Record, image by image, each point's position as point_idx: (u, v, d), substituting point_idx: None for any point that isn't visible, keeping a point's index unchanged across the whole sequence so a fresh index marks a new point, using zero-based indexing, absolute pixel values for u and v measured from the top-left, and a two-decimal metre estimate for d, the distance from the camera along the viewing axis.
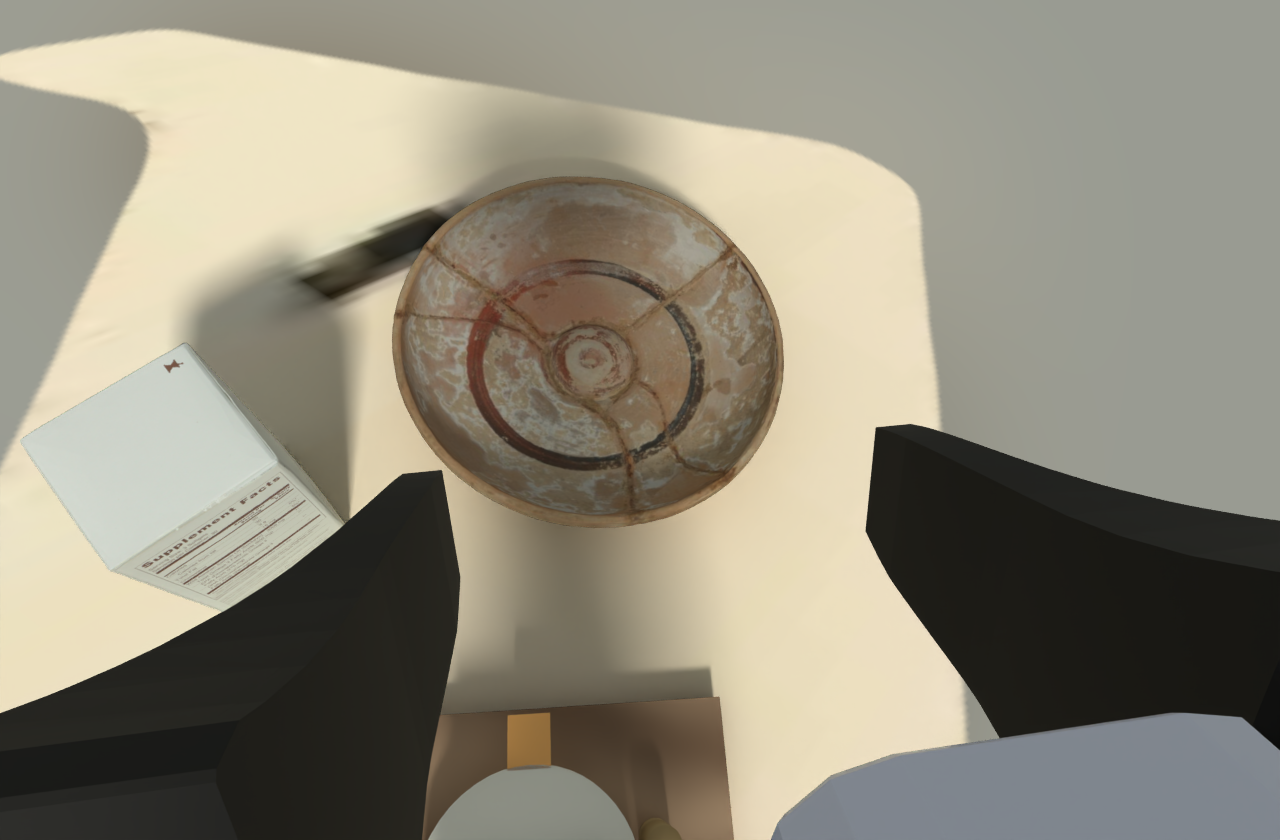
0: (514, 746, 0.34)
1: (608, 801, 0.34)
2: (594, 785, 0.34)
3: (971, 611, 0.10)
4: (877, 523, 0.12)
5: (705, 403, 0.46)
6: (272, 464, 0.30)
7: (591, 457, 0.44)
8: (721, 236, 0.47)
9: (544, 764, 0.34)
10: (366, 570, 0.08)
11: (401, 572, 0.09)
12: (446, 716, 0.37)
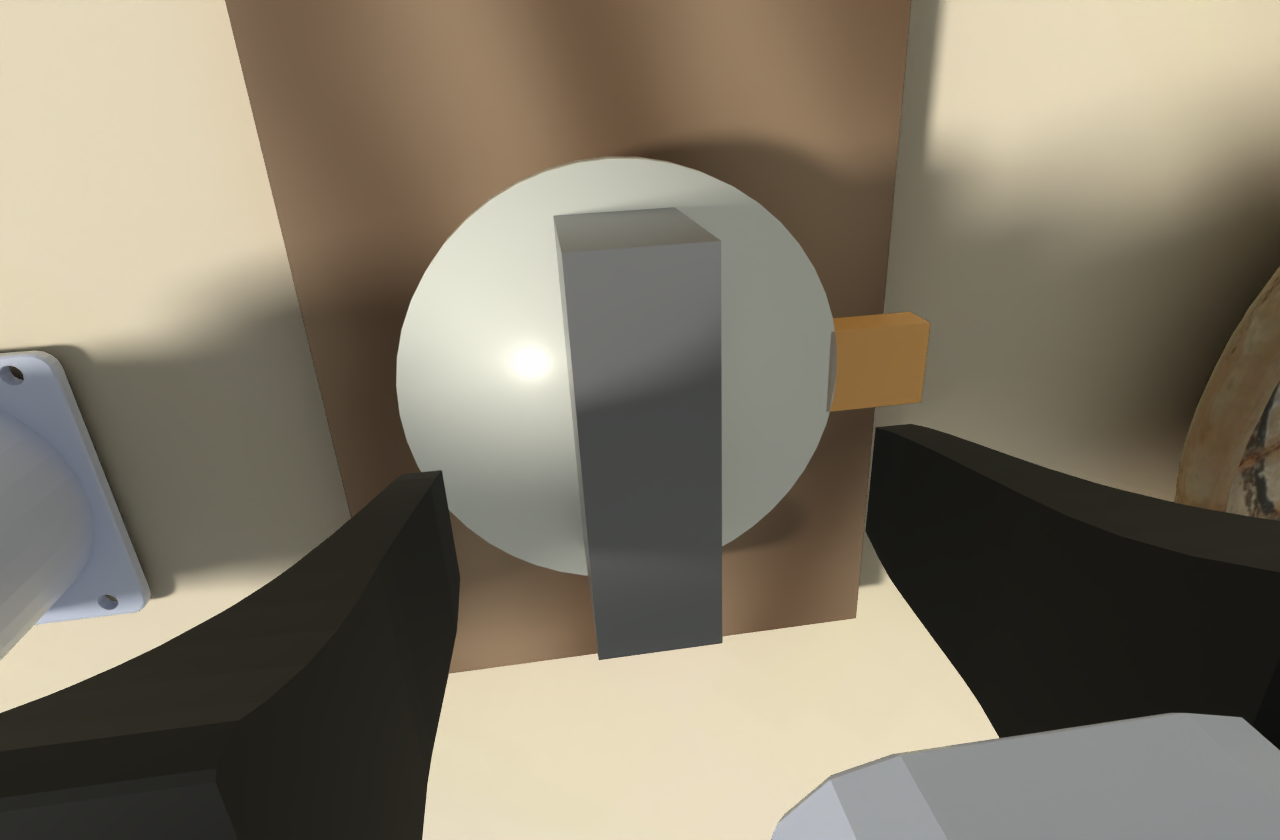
0: (873, 340, 0.17)
1: (759, 513, 0.18)
2: (788, 489, 0.18)
3: (971, 611, 0.10)
4: (877, 523, 0.12)
5: None
6: None
7: (1273, 395, 0.24)
8: None
9: (833, 400, 0.17)
10: (366, 570, 0.08)
11: (401, 572, 0.09)
12: (893, 167, 0.18)
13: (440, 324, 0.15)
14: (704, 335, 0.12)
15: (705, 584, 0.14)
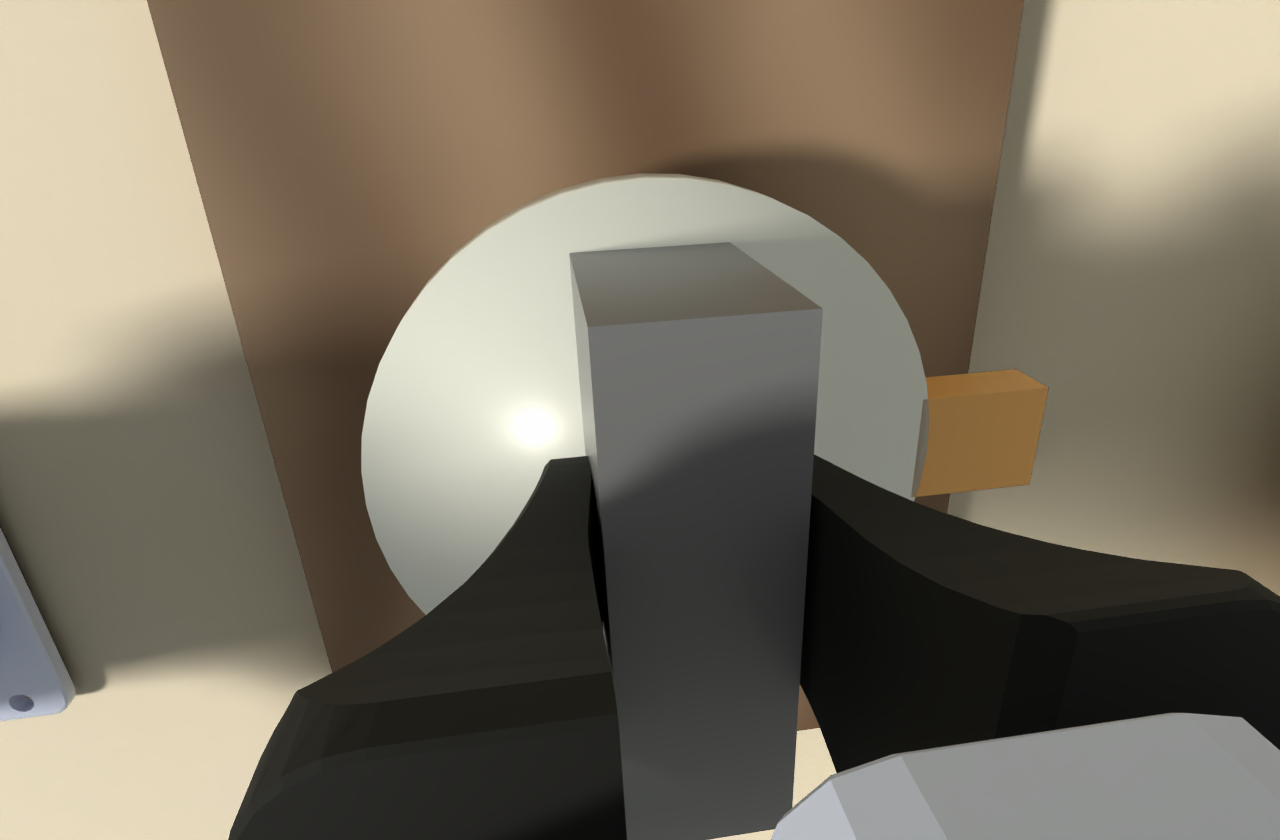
0: (975, 410, 0.13)
1: None
2: None
3: (810, 632, 0.10)
4: None
5: None
6: None
7: None
8: None
9: (921, 482, 0.14)
10: (580, 546, 0.08)
11: (591, 551, 0.09)
12: (992, 186, 0.15)
13: (418, 393, 0.12)
14: (790, 440, 0.08)
15: (772, 758, 0.10)
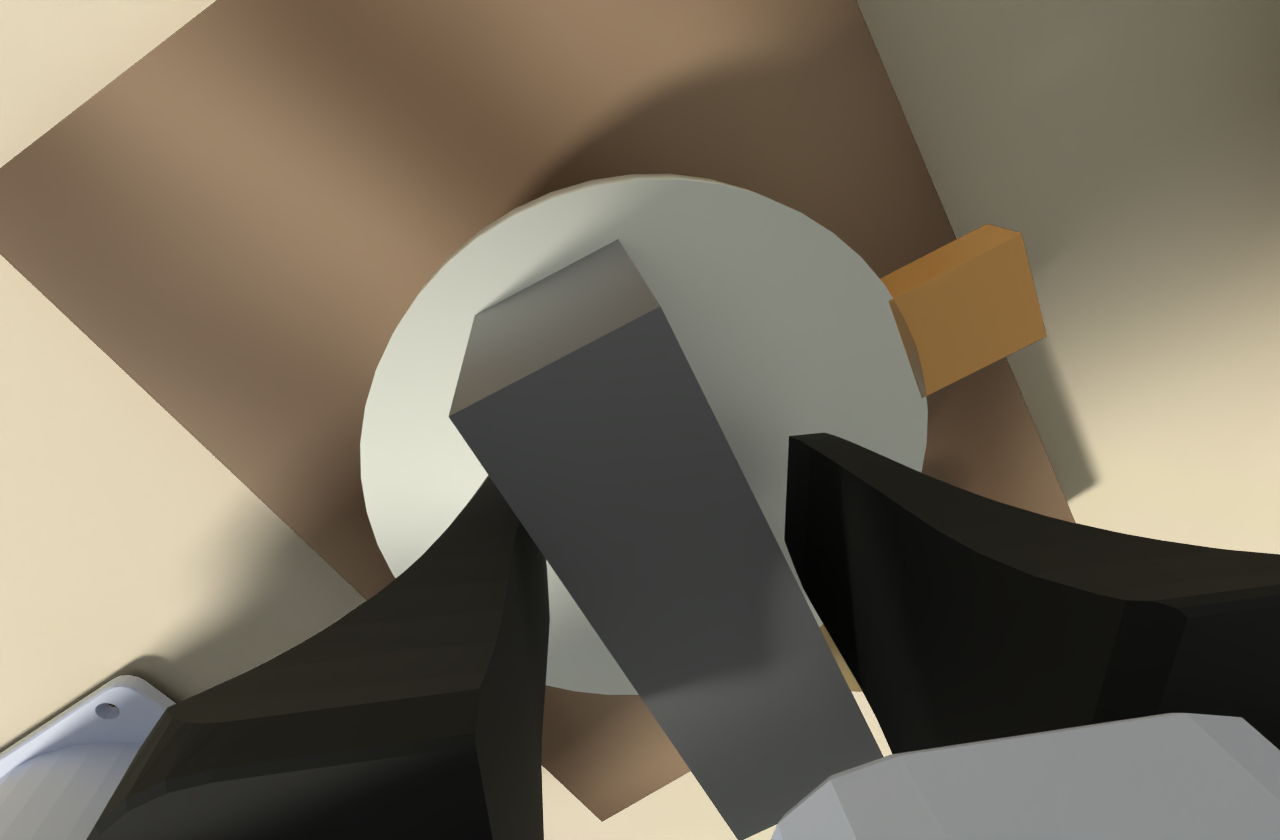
0: (950, 288, 0.12)
1: None
2: None
3: (867, 624, 0.10)
4: (792, 533, 0.12)
5: None
6: None
7: None
8: None
9: (925, 380, 0.13)
10: (502, 555, 0.08)
11: (522, 559, 0.09)
12: (856, 13, 0.13)
13: (406, 489, 0.12)
14: (695, 435, 0.08)
15: (837, 718, 0.10)
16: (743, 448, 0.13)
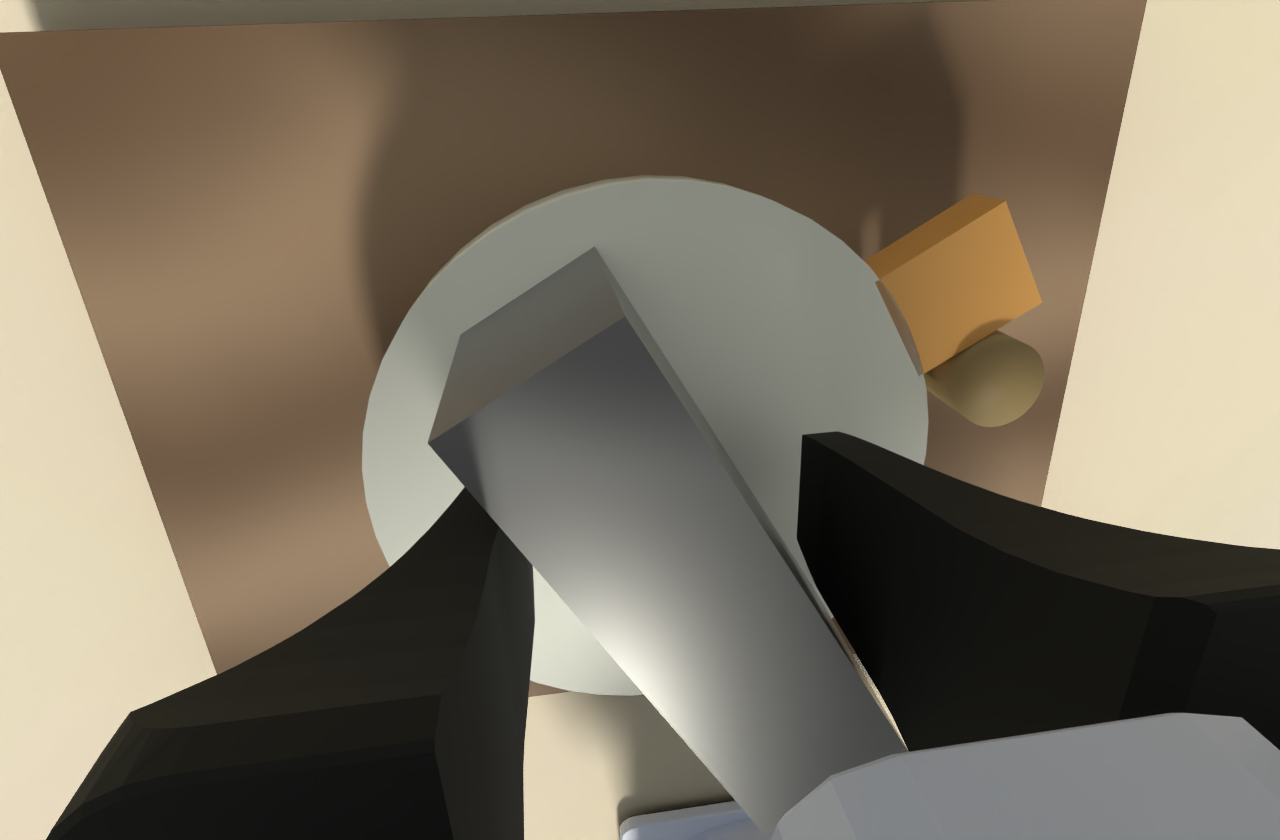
0: (937, 263, 0.12)
1: None
2: None
3: (883, 622, 0.10)
4: (805, 531, 0.12)
5: None
6: None
7: None
8: None
9: (921, 358, 0.13)
10: (481, 557, 0.08)
11: (503, 560, 0.09)
12: (368, 26, 0.12)
13: (412, 510, 0.12)
14: (675, 440, 0.08)
15: (851, 707, 0.10)
16: (741, 442, 0.13)
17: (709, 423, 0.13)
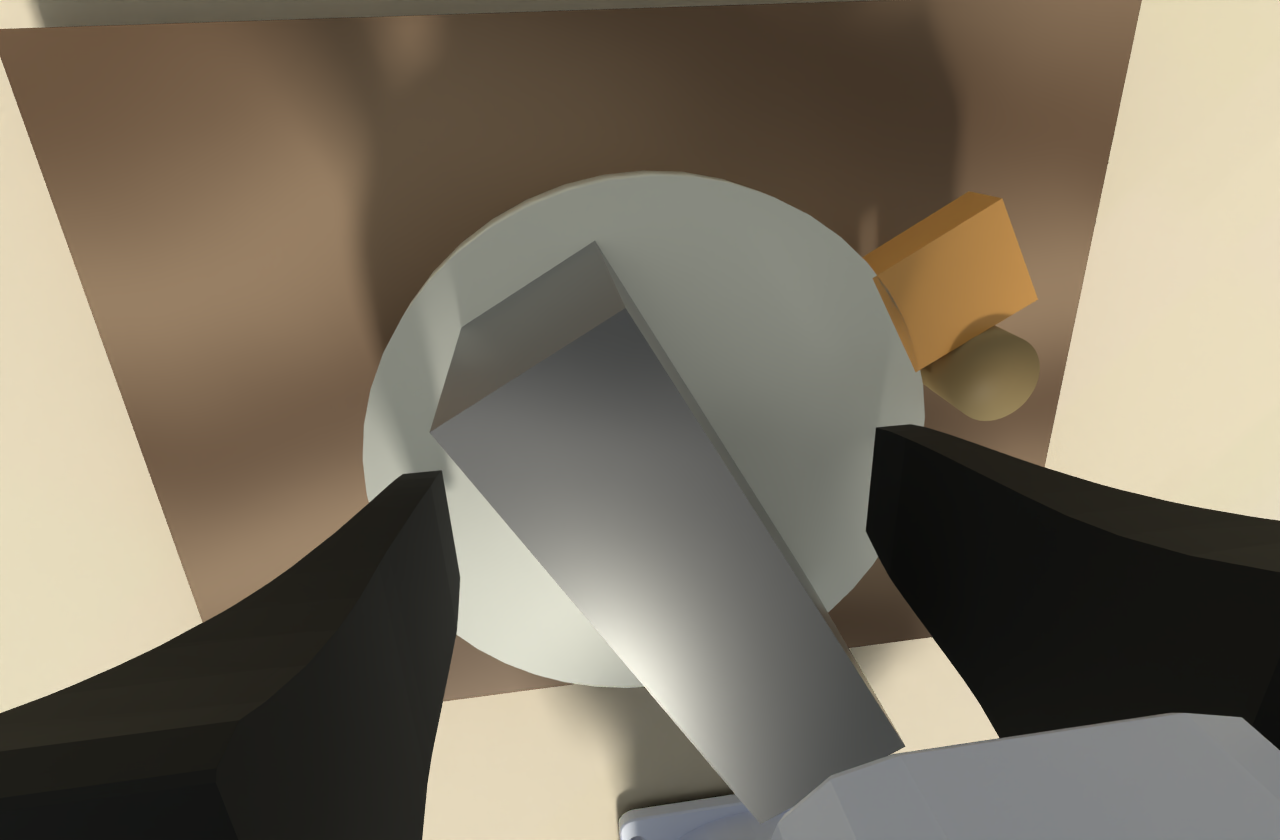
0: (934, 259, 0.12)
1: None
2: None
3: (971, 611, 0.10)
4: (877, 523, 0.12)
5: None
6: None
7: None
8: None
9: (918, 354, 0.13)
10: (366, 570, 0.08)
11: (401, 572, 0.09)
12: (368, 23, 0.12)
13: None
14: (674, 431, 0.08)
15: (846, 697, 0.10)
16: (739, 436, 0.13)
17: (707, 417, 0.13)
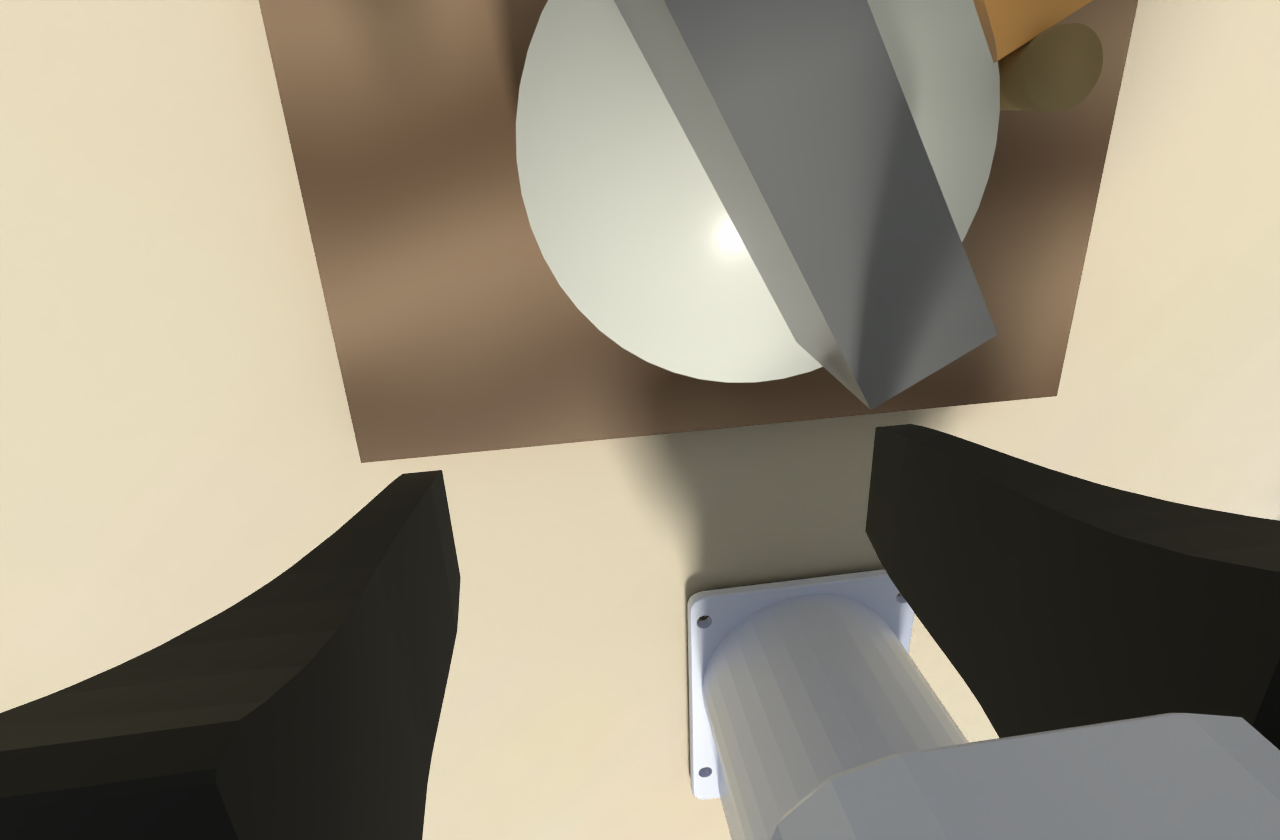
0: None
1: (966, 218, 0.16)
2: (987, 175, 0.16)
3: (971, 611, 0.10)
4: (877, 523, 0.12)
5: None
6: None
7: None
8: None
9: (996, 44, 0.15)
10: (366, 570, 0.08)
11: (401, 572, 0.09)
12: None
13: (554, 170, 0.14)
14: None
15: (951, 273, 0.12)
16: None
17: None
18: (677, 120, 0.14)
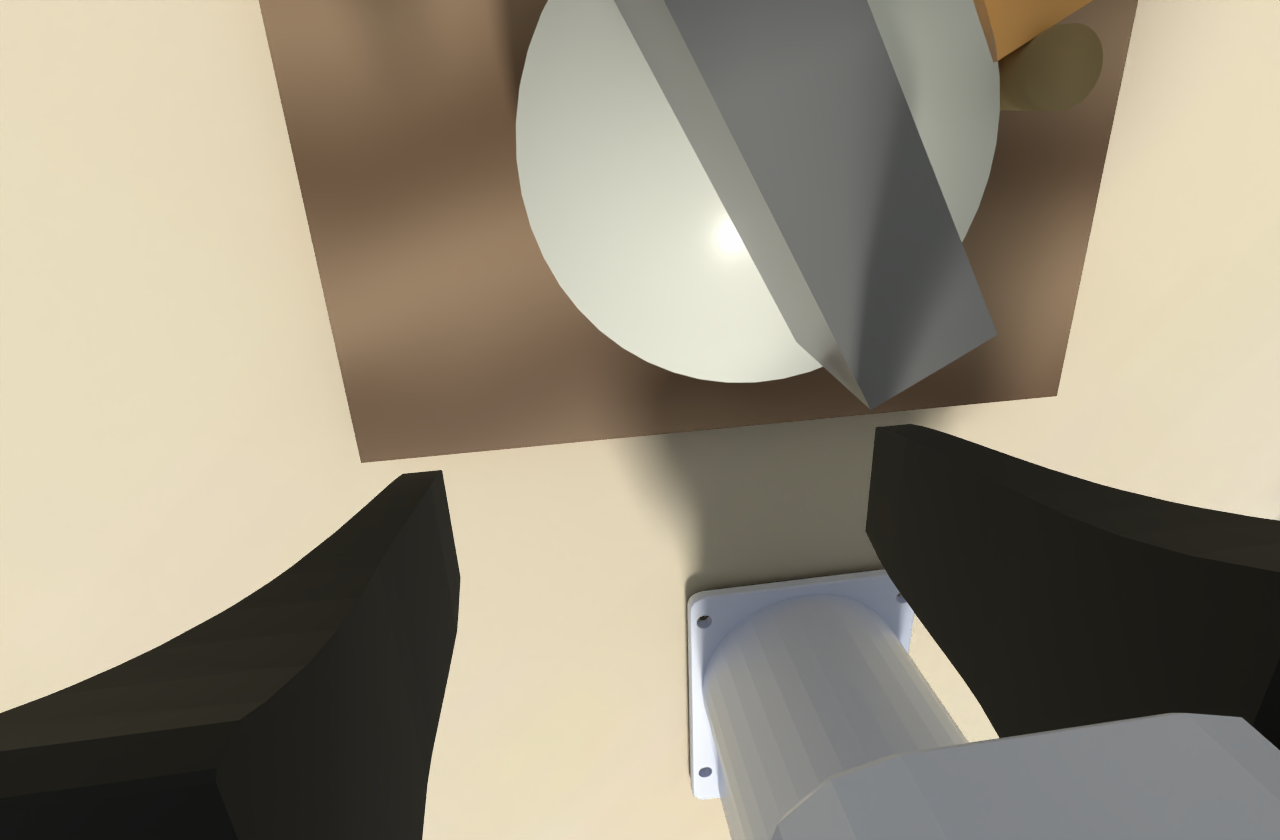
0: None
1: (966, 218, 0.16)
2: (987, 175, 0.16)
3: (971, 611, 0.10)
4: (877, 523, 0.12)
5: None
6: None
7: None
8: None
9: (996, 44, 0.15)
10: (366, 570, 0.08)
11: (401, 572, 0.09)
12: None
13: (554, 170, 0.14)
14: None
15: (951, 273, 0.12)
16: None
17: None
18: (677, 120, 0.14)
